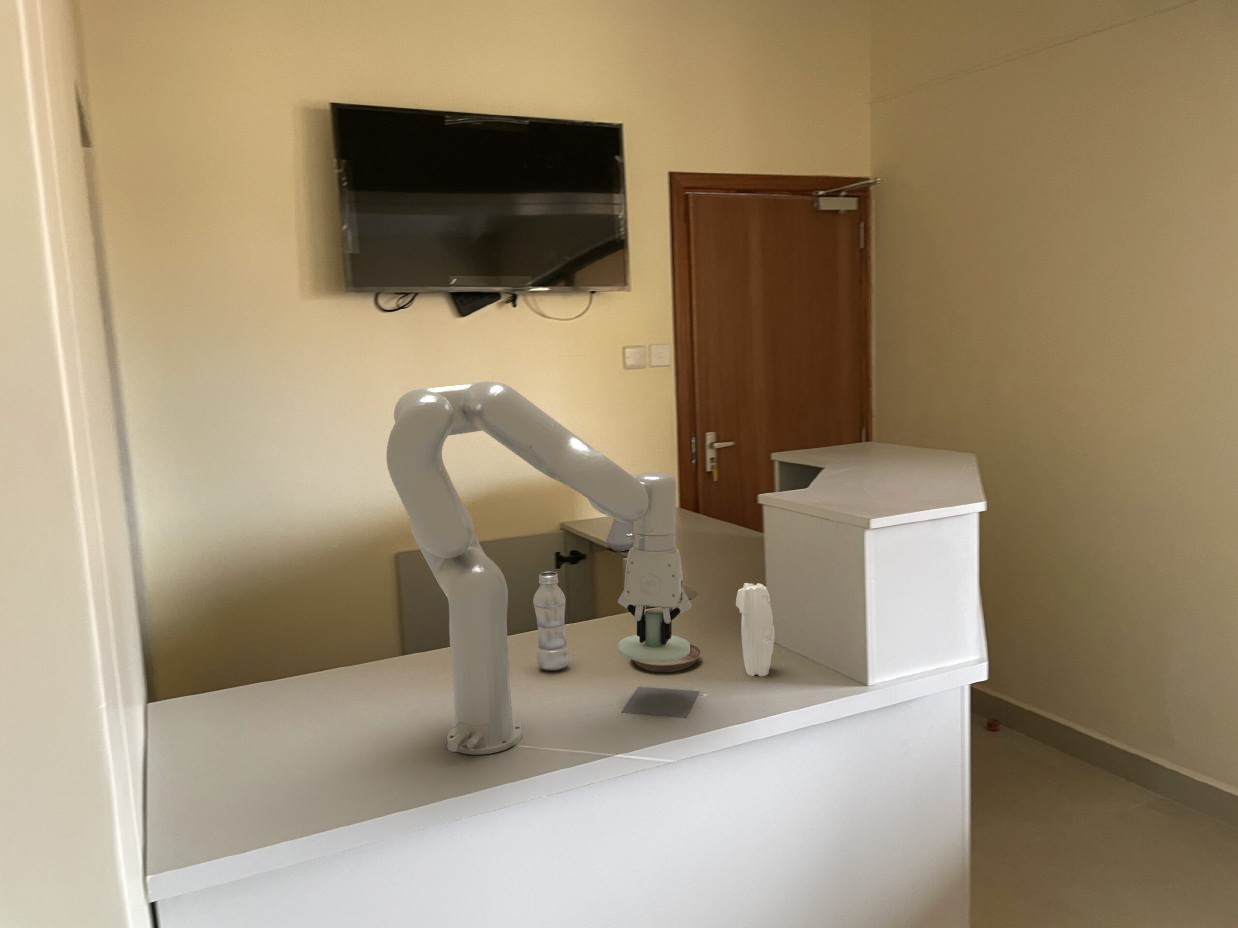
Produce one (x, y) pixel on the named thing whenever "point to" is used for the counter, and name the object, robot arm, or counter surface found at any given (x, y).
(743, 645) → the lumpy white ridged column
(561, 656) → the plastic bottle
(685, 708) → the mat
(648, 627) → the lid
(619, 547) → the coffee pot
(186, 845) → the counter surface
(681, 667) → the saucer
